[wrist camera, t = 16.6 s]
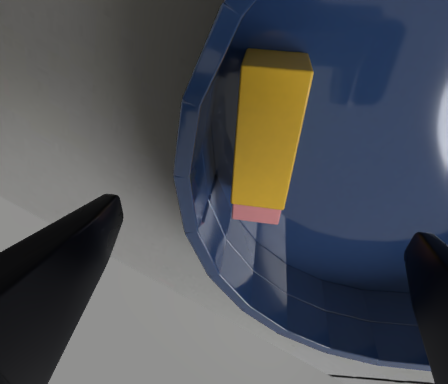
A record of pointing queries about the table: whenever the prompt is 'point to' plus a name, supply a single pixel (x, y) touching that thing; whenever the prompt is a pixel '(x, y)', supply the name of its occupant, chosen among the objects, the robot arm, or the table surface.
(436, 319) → the robot arm
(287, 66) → the pencil
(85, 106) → the table surface
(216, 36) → the bowl
